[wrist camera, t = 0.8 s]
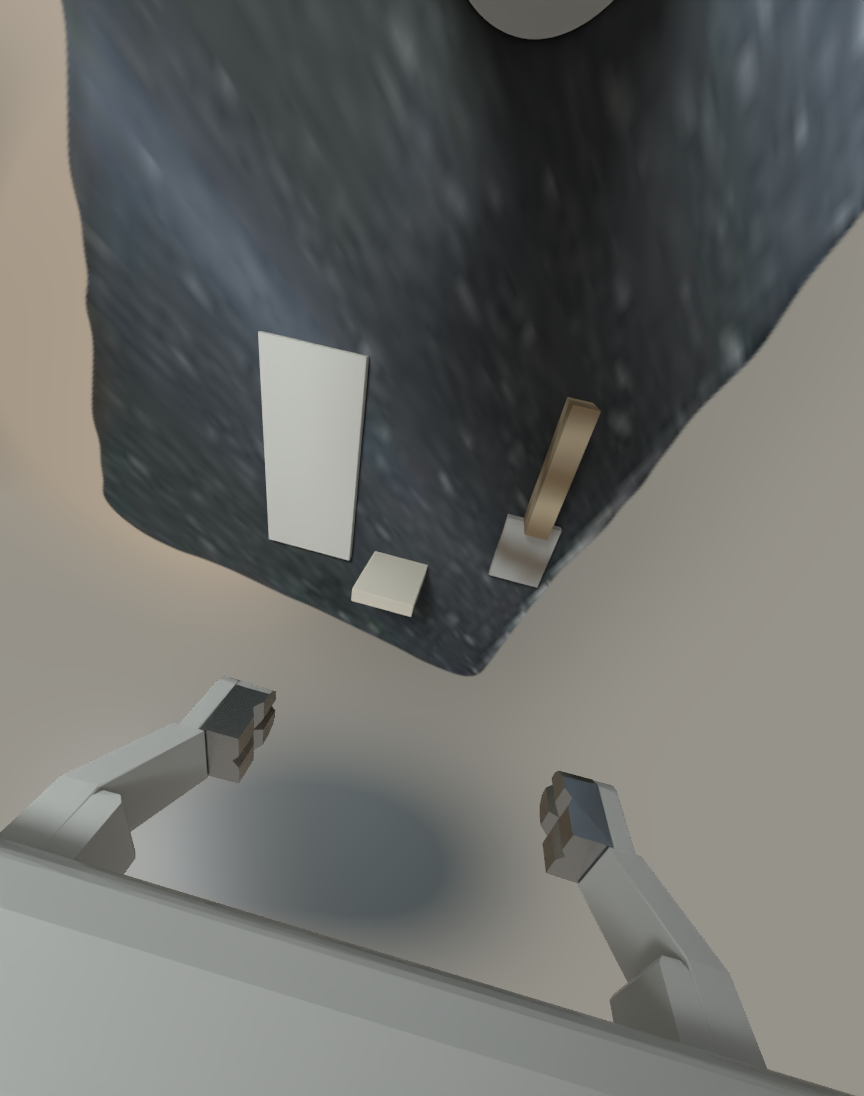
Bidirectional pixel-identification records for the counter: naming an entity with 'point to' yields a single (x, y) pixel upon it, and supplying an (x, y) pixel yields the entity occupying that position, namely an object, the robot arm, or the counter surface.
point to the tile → (390, 583)
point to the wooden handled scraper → (545, 500)
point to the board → (312, 441)
